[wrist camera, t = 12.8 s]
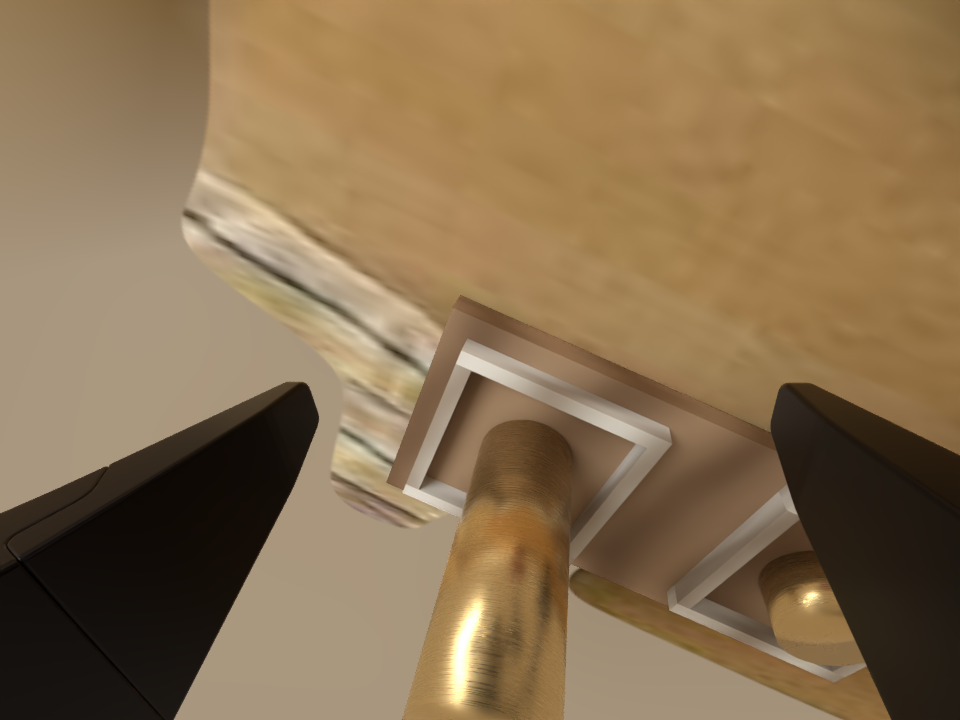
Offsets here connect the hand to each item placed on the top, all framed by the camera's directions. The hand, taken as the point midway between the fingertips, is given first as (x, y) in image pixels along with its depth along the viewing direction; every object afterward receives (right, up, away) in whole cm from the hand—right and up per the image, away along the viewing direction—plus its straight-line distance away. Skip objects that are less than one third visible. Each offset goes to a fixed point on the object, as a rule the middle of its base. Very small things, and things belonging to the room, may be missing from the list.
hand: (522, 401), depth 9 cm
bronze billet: (+2, -4, +16) cm, 17 cm away
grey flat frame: (+10, -7, +18) cm, 21 cm away
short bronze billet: (+17, -11, +16) cm, 26 cm away
